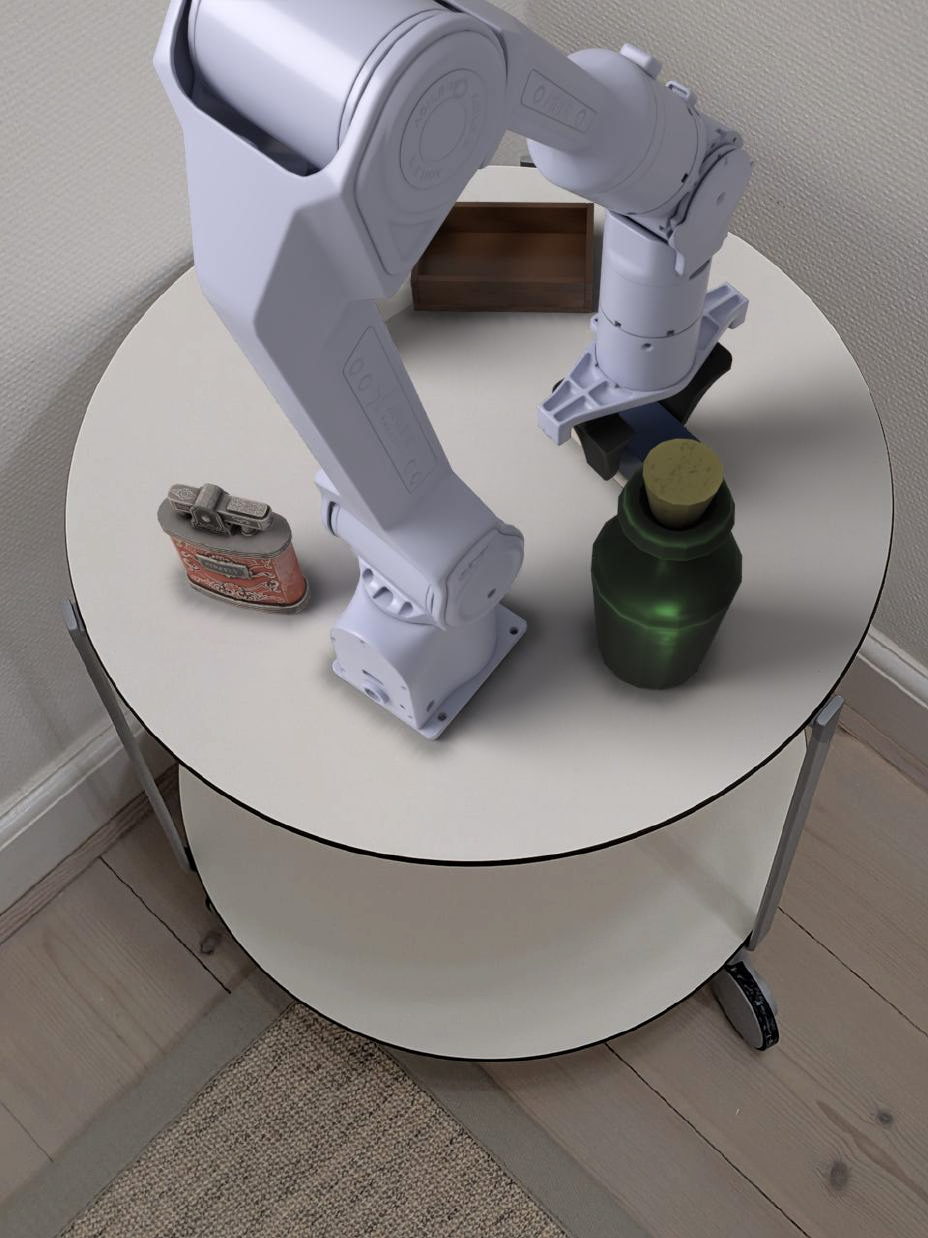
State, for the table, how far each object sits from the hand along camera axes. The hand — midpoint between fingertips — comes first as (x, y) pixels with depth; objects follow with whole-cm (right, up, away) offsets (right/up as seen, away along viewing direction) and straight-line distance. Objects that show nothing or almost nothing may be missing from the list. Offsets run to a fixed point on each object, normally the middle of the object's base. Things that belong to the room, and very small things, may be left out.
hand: (634, 445), depth 80 cm
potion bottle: (0, -13, -5) cm, 14 cm away
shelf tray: (-8, +14, +9) cm, 19 cm away
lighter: (-24, -9, -2) cm, 26 cm away
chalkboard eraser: (0, -1, +1) cm, 1 cm away
